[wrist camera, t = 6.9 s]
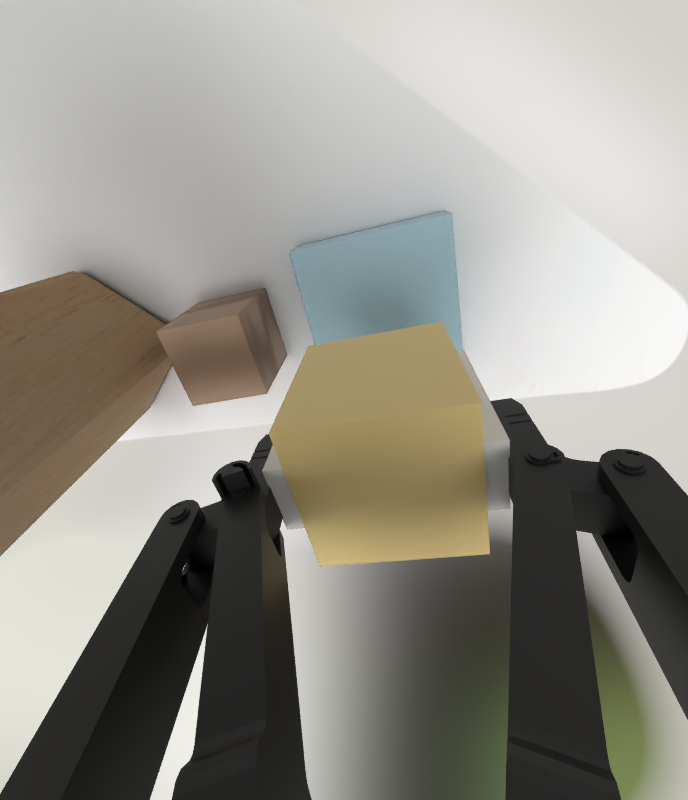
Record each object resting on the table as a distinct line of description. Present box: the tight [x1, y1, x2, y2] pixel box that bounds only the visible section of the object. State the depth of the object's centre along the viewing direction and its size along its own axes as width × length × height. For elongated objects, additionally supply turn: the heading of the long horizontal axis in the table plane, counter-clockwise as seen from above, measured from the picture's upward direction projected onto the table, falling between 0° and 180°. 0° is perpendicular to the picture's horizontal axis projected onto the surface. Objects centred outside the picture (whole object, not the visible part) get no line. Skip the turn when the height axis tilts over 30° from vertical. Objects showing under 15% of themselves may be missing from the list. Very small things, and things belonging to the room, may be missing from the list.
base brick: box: [289, 211, 462, 351], centre depth 28 cm, size 11×11×3 cm
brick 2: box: [269, 322, 490, 567], centre depth 15 cm, size 6×6×7 cm
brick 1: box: [156, 288, 287, 406], centre depth 29 cm, size 6×6×7 cm
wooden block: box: [0, 271, 172, 556], centre depth 25 cm, size 10×10×20 cm
